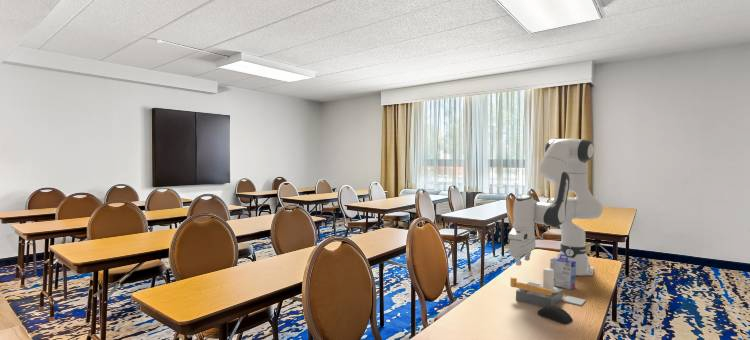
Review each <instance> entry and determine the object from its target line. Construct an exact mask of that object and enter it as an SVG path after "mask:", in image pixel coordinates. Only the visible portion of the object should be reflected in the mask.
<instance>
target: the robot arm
mask: <svg viewBox="0 0 750 340" xmlns="http://www.w3.org/2000/svg"><path fill="white" fill-rule="evenodd" d="M544 147H545V148H544V155H543V157H542V159H541V162H540V166H539V173H540V174H541V176H542V177H543V178H544V179H546V180H547V181H548V182H551V183H552V184H554V185H555V186H556V187H555V191H554V197H551V198H550V199H549V200H548V202H543V201H542V202H541V201H537V200H535V199H534V197H533V196H532V195H530V194H529V195H528V194H524V195H523V194H521V195H518V196H516V197H515V199H514V200H513V201H514V202H513V209H512V216H513V223H512V229H511V230H510V232H508V239H509V244H508V245H509V255H510V257H512V258H514V260H515V265H516V266H518V267H519V266H522V261H521V258H522V256H523V255H524V261H527V262H528V261H530V259H531V254H532V251H533V250H535V248H536V235H535V223H536V224H540V225H545V226H548V227H552V228H557V227H560V235H561V242H560V245H559V246H560V247H559V248H560V249H559V250H560V251H559V252H558V253H557V254H556V256H557V257H556V258H560V255H561V254H563V255H568V260H570V261H575V262H576V276H594V268H595V267H594V266H592V265H591V264H590V258H589V256H588V254H587V244H586V231H585V229H584V228H583V227H581V226H580V225H577V224H575V223H574V222H573V220H574V219H576V220H594V219H599V218H600V217H601V216H602V215H603V212H604V211H603V204H602V203H601V202H600V200H599V199H597V198H596V197H594V196H593V194H592V192H591V190H590V189H589V183H588V180H589V179H588V178H589V177H588V176H589V175H588V174H589V171H588V170H589V165H588V161H590V160H591V159H592V158H593V156H594V153H595V146H594V143H593V142H592V141H591V140H588V139H585V138H584V139H580V138H579V139H578V138H571V137H570V138H551V139H549V140H548V141H547V142H546V144H545V146H544ZM569 192H571V193H574V194H575V196H573V197H572V196H571V197H570V196H568V194H569ZM561 257H562V258H567V257H565V256H561Z"/></svg>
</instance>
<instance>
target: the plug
mask: <svg viewBox="0 0 750 340" xmlns="http://www.w3.org/2000/svg"><path fill="white" fill-rule="evenodd" d="M542 275H543V276H542V284H541V285H540V286H538V287H541V288H545V289H549V290H552V294H554V293H558V287H557V286H555V285H554V270H553V269H550V267H549V268H548V267H544V268H543V271H542Z"/></svg>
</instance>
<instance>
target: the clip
mask: <svg viewBox="0 0 750 340" xmlns="http://www.w3.org/2000/svg"><path fill="white" fill-rule="evenodd" d="M510 287H512V288H516V289H519V288H520V289H524V290H529V291H533V292H537V293H542V294H546V295H550V296H551V295H552V290H549V289H545V288H541V287H536V286H532V285H529V284H527V283H524V282H520V281H518V279H517V277H514V276H513V277H512V276H511V277H510Z"/></svg>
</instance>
